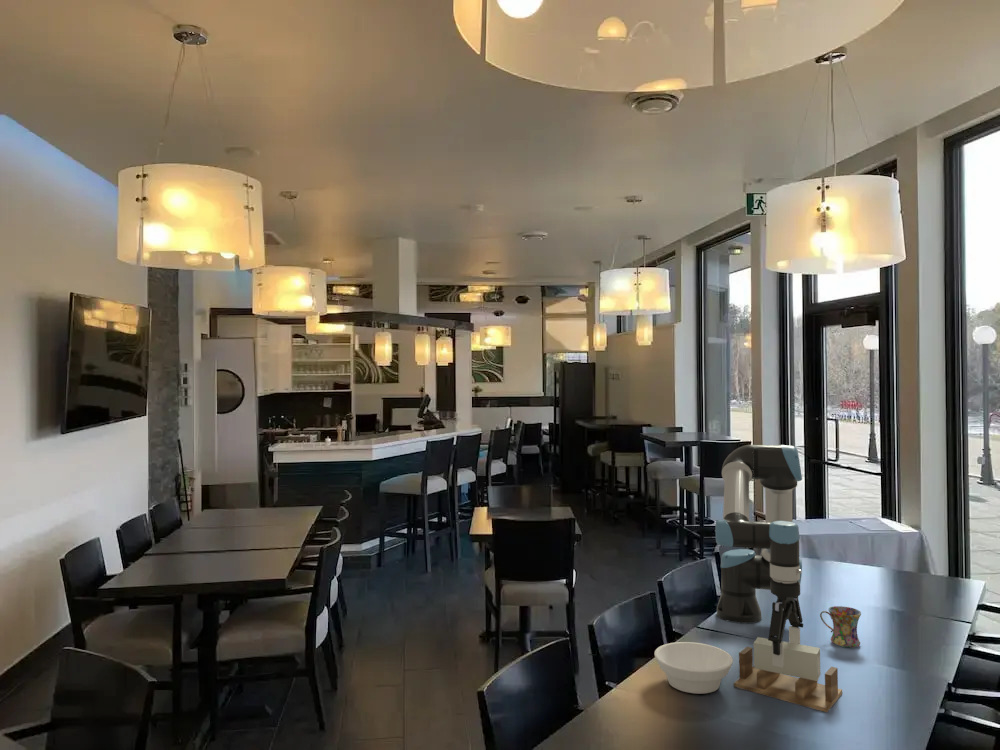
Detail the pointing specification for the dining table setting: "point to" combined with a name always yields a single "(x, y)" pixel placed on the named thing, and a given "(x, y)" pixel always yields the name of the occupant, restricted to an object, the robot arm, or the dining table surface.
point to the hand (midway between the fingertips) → (786, 658)
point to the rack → (788, 685)
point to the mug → (844, 625)
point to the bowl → (693, 666)
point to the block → (788, 659)
